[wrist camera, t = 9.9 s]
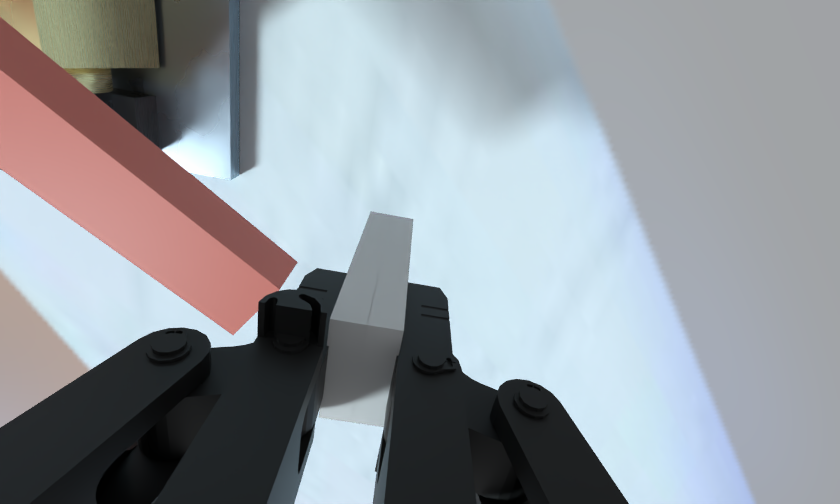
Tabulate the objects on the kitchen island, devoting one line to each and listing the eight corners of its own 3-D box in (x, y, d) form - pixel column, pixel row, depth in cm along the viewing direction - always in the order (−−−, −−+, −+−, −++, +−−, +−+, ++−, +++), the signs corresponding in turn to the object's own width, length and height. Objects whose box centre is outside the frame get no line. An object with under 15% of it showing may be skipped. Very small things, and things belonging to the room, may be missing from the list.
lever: (-198, -82, 12) (-425, -135, 9) (-175, -164, 11) (-413, -255, 8) (269, 284, 17) (232, 335, 14) (308, 245, 16) (279, 289, 13)
